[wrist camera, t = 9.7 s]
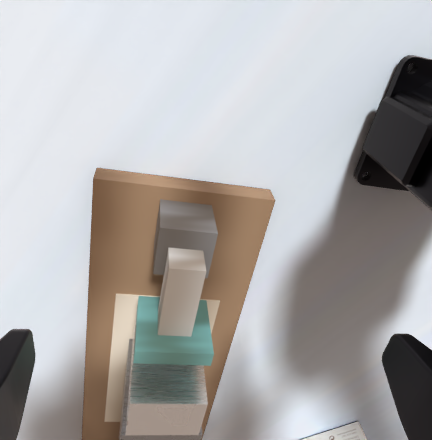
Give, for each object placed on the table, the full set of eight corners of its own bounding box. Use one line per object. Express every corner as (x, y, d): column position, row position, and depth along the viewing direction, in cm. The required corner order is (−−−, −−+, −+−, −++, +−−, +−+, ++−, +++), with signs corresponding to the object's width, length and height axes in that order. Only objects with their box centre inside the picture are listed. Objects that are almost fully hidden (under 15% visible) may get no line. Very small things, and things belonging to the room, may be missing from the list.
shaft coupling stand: (269, 189, 21) (306, 261, 16) (191, 455, 34) (196, 544, 29) (96, 167, 20) (72, 240, 14) (82, 457, 33) (67, 551, 27)
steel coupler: (176, 413, 29) (180, 507, 24) (120, 413, 28) (111, 510, 23) (200, 312, 24) (211, 404, 19) (133, 308, 23) (125, 403, 18)
